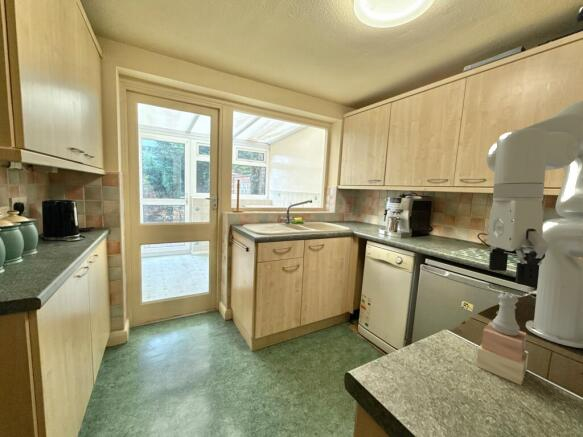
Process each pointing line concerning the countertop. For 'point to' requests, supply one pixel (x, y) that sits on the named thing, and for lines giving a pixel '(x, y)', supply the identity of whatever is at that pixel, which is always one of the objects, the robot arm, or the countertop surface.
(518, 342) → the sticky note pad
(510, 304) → the rook chess piece
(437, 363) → the countertop surface
